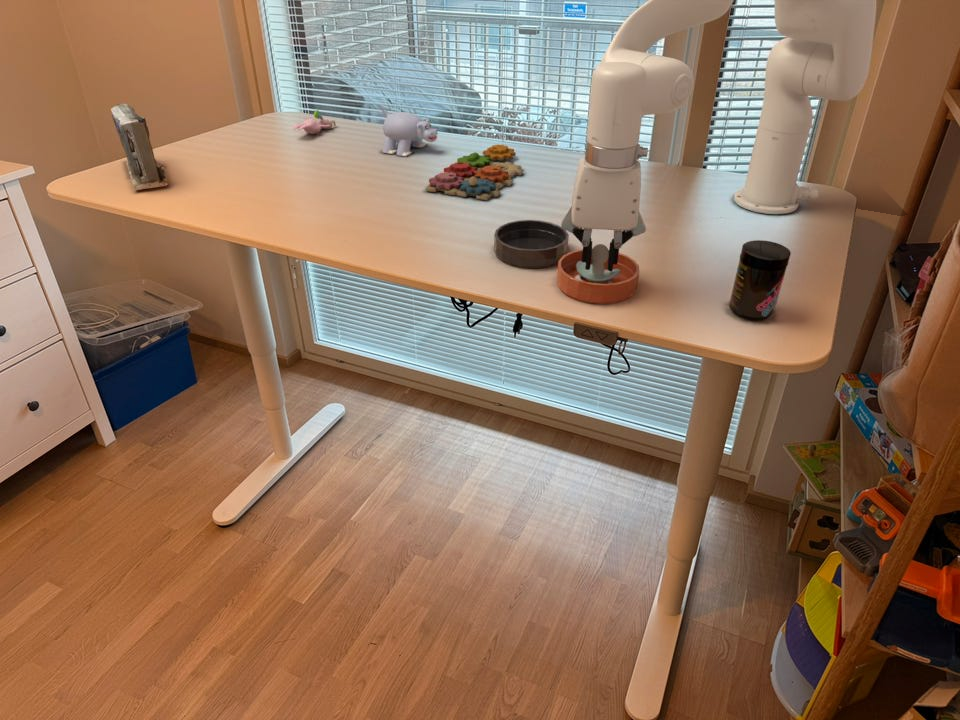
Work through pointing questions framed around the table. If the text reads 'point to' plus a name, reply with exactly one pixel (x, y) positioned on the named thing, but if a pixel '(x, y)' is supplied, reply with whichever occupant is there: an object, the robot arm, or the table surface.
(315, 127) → the rabbit figure
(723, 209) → the table surface
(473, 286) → the table surface
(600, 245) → the pacifier
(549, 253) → the charcoal bowl
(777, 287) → the supplement container
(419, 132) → the hippopotamus toy
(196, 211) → the table surface
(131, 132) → the radio
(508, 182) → the gear puzzle
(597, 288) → the terracotta bowl
